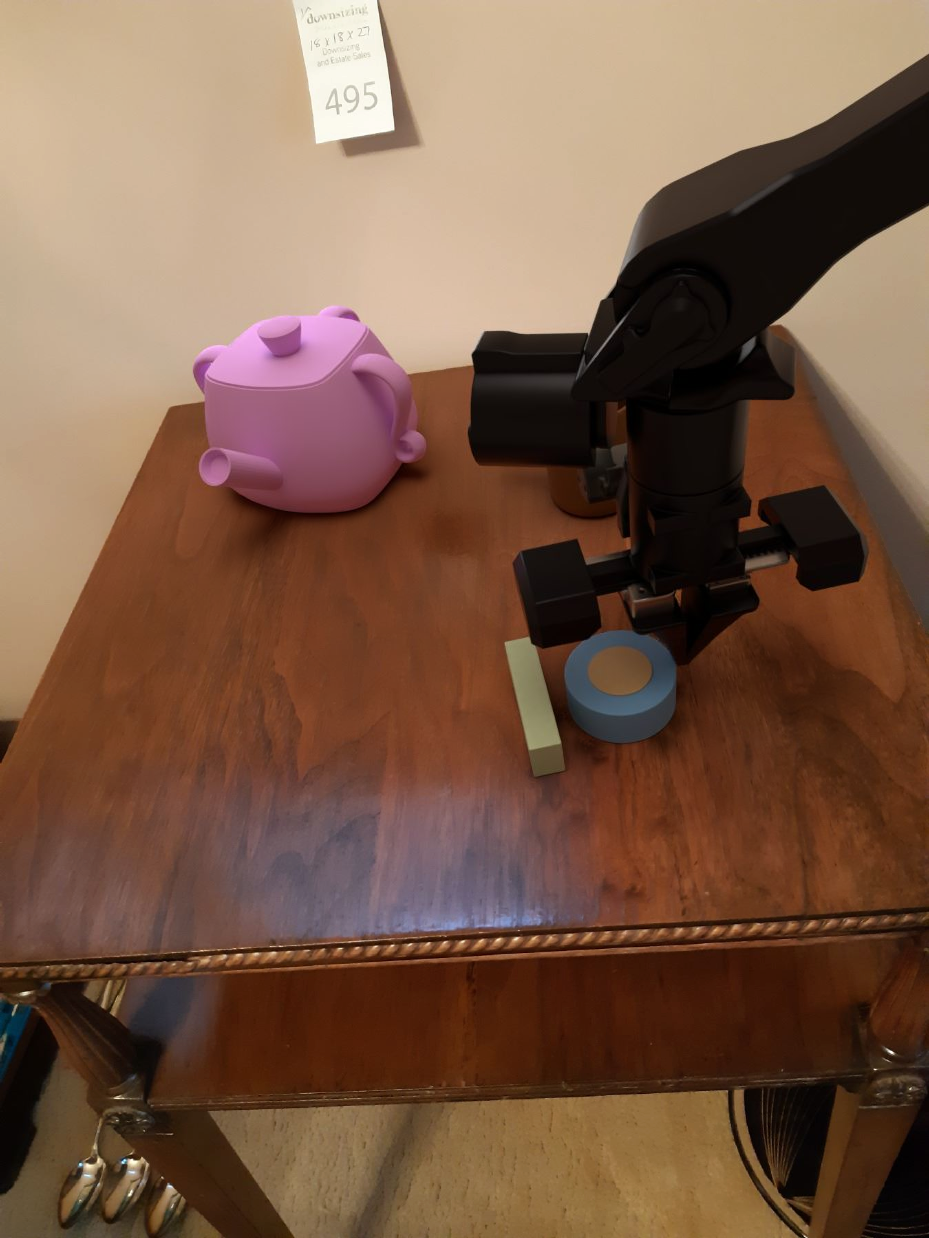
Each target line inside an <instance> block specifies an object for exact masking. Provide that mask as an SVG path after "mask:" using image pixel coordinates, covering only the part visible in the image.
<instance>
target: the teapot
mask: <svg viewBox="0 0 929 1238" xmlns="http://www.w3.org/2000/svg"><path fill="white" fill-rule="evenodd" d="M192 375H193V378H194V380H195V383H196V385H197V386H198V388H199V390H200V391H201V393H202V394H203V395H204V418H205V419H204V420H205V431H206V436H207V441H208V446H209V448H208V449H207V450H206V451H204V452H203V453H202V455H201V457H200V459H199V461H198V462H199V463H198V472H199V475H200V477H201V479H202V481H203V482H204V483H205V484H206V485H208V486H210V487H211V486H213V487H222V488H231V489H232V490H233V491H235V492H236V493H237V494H239V495H241V496H243V497H245V498H246V499H248V500H250V501H252V502H254V503H257V504H260V505H263V506H265V507H269V508H272V509H276V510H279V511H286V512H291V513H292V512H294V513H308V514H324V513H325V514H326V513H327V514H328V513H329V514H330V513H342V512H348V511H349V512H350V511H353V510H357V509H359V508H360V509H361V508H362V507H364V506H366V505H369V503H371V502H372V501H374V500H375V499H376V497H378V495H380V493H382V491H383V490H384V488H385V487H386V486H387V485H388V484H389V482H390V481H391V480H392V478H393V477H394V476H395V475H396V473H398V470H399V469H400V467H401V466H402V464H403V463H404V464H411V463H412V464H413V463H416V462H418V461H420V460H421V459H422V458H423V457H424V456H425V454H426V451H427V445H428V444H427V441H426V439H425V437H424V436H423V435H422V434H421V433H420V432H418V431H417V428H418V425H419V413H418V410H417V407H416V403H415V400H414V399H415V398H414V397H413V387H412V383H411V379H410V378H409V375H408V374H407V372H406V371H405V369H404V368H403V367H402V366H401V365H400V364H398V363H397V362H396V361H395V359H394V358H393V357H392V355H391V354H390V353H389V351H388V349H386V347H385V346H384V344H383V343H382V341H381V340H380V339H379V337H378V336H377V335H376V334H375V332H373V331H372V329H371V328H370V327H369V326H368V325H367V324H365V323H362V322H361V319H360V317H359V316H358V314H357V313H356V312H355V311H354V310H353V309H352V308H350V307H348V306H343V305H329V306H326V307H325V308H322V310H320V312H319V313H318V314H317V315H291V314H286V315H285V314H284V315H278V316H274V317H272V318H267V319H263V320H260V321H258V322H256V323H254V324H253V325H251V326H250V327H249V328H247V329H246V330H244V331H243V332H242V333H241V334H239V336H238V337H236V338H235V339H234V340H233V341H232V342H231V343H229V345H228V346H226V345H220V344H216V345H211V346H208V347H207V348H205V349H204V350H202V351H201V352H200V353H199V354H197V356H196V357H195V360H194V361H193V364H192Z"/></svg>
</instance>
